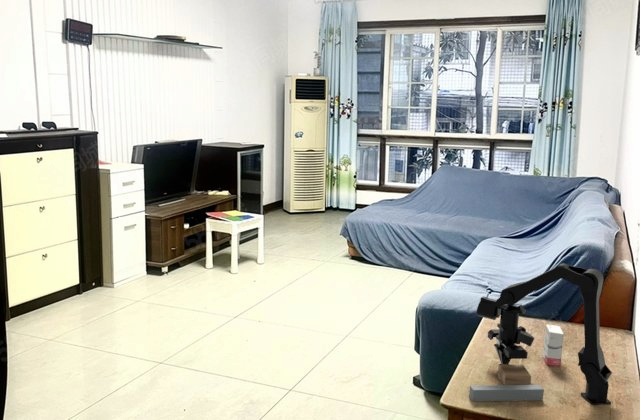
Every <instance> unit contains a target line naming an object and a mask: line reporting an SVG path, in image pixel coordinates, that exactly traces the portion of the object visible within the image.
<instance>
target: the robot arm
mask: <svg viewBox="0 0 640 420" xmlns="http://www.w3.org/2000/svg"><path fill="white" fill-rule="evenodd" d="M558 280H564V281H567V282H569V283H570V284H572V285H573V286H574V285H575V286H577V287H578V289H579V293H580V295H581V297H582V300H583V301H582V302H583V321H584V323H583V327H584V329H583V330H584V331H583V333H584V346H582V348H581V349H580V350H579V351H578V352H577V356H578V358H577V359H578V364H577V366H578V367H579V368H580V371H581V373H582V374H583V375H584V377H585V381H586V384H585V392H580V395H581V396H582V397H583V398H584V400H586V401H587V402H588V403H589V404H591V405H611V404H612V401H610V400H609V399H608V393H609V385H610V384H609V381H608V380H609V379H610V377H611V376H612V374H613V372H612V370H611V369H610V368H609V367H608V365H607V364H606V360H605V356H604V351H603V349H602V346H601V341H600V340H601V337H600V336H601V335H600V334H601V333H600V331H601V330H600V297H601V293H602V290H603V285H604V280H605V279H604V275H603V273H602V272H601V271H600V270H598V269H595V268H589V269H587V268H584V267H581V266H574V265H571V264H567V263H560V264H558V265H557V266H556V267H552V269H548V270H547V271H545V272H543V273H540V274H539V275H537V276H535V277H533V278H531V279H529V280H526V281H522V282H517V283H513V284H509V285H508V286H507V287H506V288H503V289H502V290H501V291H500V295H499V296H500V297H498V298H497V299H493V298H489V297H487V296H484V295H483V296H482V297H480V300H479V303H478V305H477V308H476V315H477V316H478V317H480V318H484V319H489V320H492V321H496V320H497V319H499V318H500V319H499V323H497V324H496V326H497V328H498V329H496V328H494V329H490V330H488V331H487V338H488V339H489V340H490V341H493V339H494V338H496V339H495V341H496V343H494V344H493V346H494V348H495V351H496V353H497V356H498V358H499V361H500V364H510V361H511V360H513V359H514V360H517V359H518V360H523V359H524V360H525V359H528V355H529V353H528V351H527V350H526V349H525V348H524V347H523V346H522V345H521V344H523V345H524V344H525V345H526V346H528V347H532V345H533V343H534V340H535V337H534V336H533V335H532V334H530V333H529V332H527V329H526V328H525V327H524V326H522V325H519V318H520V315H524V314H525V313H526V312H527V310H526V308H524V306H523V305H522V304H520V305H516V304H517V303H518V302H520V301H522V300H523V299H524V298H525V297H527V296H528V295H529V294H531V293H533V292H535V291H537V290H539V289H541V288H543V287H545V286H546V287H547V286H548V285H551V284H552V283H554V282H556V281H558Z"/></svg>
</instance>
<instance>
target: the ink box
mask: <svg viewBox="0 0 640 420" xmlns="http://www.w3.org/2000/svg"><path fill="white" fill-rule="evenodd" d="M564 335H565V334H564V332H563V330H562V327H560V325H553V324H546V325H545V333H544V338H543V339H544V342H543V350H542V357H543V359H544V361H545V364H546V365H547V366H556V367H561V363H562V354H563V347H564V346H563V343H564Z"/></svg>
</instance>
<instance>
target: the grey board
mask: <svg viewBox="0 0 640 420" xmlns="http://www.w3.org/2000/svg"><path fill="white" fill-rule="evenodd" d="M468 392H469V395H468V397H469V398H470V400H471V402H500V401H501V402H502V401H503V402H504V401H506V402H508V401H512V402H513V401H516V402H517V401H543V400H544V392H545V390H544V388H543V387H542V386H541V385H540V384H530V385H502V384H501V385H500V384H497V385H496V384H489V385H488V384H485V385H484V384H483V385H482V384H481V385H477V384H476V385H469V391H468Z"/></svg>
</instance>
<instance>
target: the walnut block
mask: <svg viewBox="0 0 640 420" xmlns="http://www.w3.org/2000/svg"><path fill="white" fill-rule="evenodd" d="M497 377H498V379H499V381H500V383H501V385H502V384H503V385H531V380H532V375H531V374H530V372H529V371H528V370H527V368H526V367H525V365H524V364H510V363H509V364H501V363H498V368H497Z"/></svg>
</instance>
